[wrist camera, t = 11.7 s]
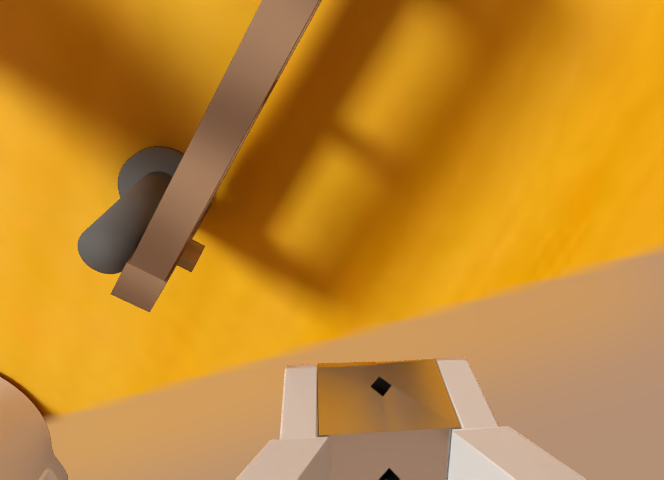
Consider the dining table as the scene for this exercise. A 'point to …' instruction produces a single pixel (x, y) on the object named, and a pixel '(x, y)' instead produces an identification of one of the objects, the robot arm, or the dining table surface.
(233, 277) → the dining table surface
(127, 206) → the post
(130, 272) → the gate
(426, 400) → the robot arm
